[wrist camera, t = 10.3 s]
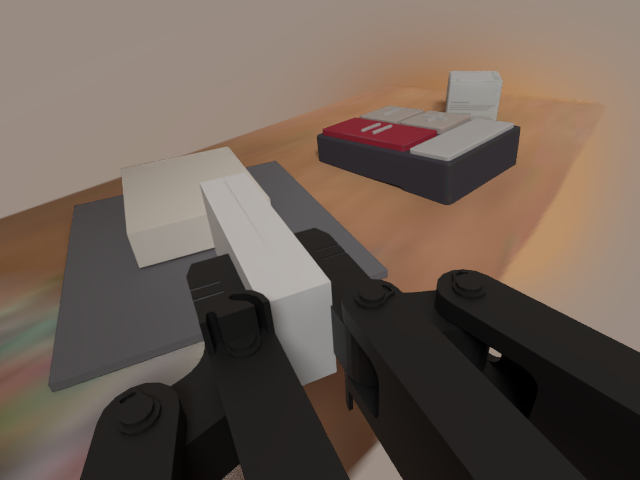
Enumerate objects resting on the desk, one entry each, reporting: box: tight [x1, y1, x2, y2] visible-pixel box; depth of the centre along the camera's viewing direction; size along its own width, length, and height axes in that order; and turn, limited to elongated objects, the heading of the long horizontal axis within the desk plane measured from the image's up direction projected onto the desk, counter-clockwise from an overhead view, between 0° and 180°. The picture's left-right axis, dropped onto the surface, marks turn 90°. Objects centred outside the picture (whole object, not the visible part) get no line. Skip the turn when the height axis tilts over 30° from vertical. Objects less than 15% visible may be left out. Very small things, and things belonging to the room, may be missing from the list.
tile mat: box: [48, 161, 388, 392], centre depth 30 cm, size 18×20×1 cm
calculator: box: [317, 106, 520, 205], centre depth 39 cm, size 11×4×15 cm
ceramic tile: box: [121, 147, 271, 268], centre depth 32 cm, size 9×3×12 cm
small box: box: [445, 71, 503, 121], centre depth 49 cm, size 6×6×5 cm
